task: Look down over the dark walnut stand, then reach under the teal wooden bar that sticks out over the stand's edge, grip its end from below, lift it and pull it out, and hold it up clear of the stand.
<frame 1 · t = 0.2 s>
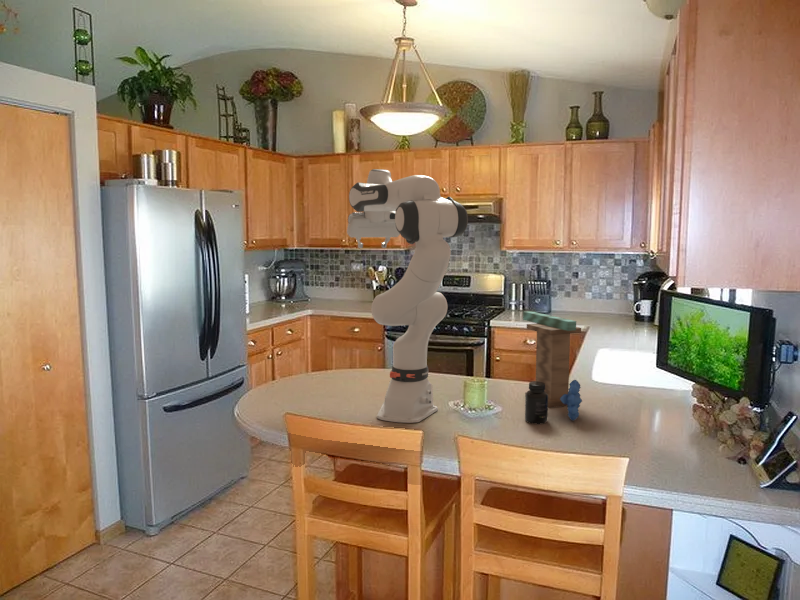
hand: (372, 247, 225), 52 cm above the worktop, tool tilted 20°, fingers open, 8 cm apart
grapes: (570, 418, 186), on the worktop
supplement bottle: (536, 421, 183), on the worktop
walnut stand: (551, 400, 205), on the worktop
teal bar: (548, 324, 204), point 26 cm above the worktop, touching walnut stand
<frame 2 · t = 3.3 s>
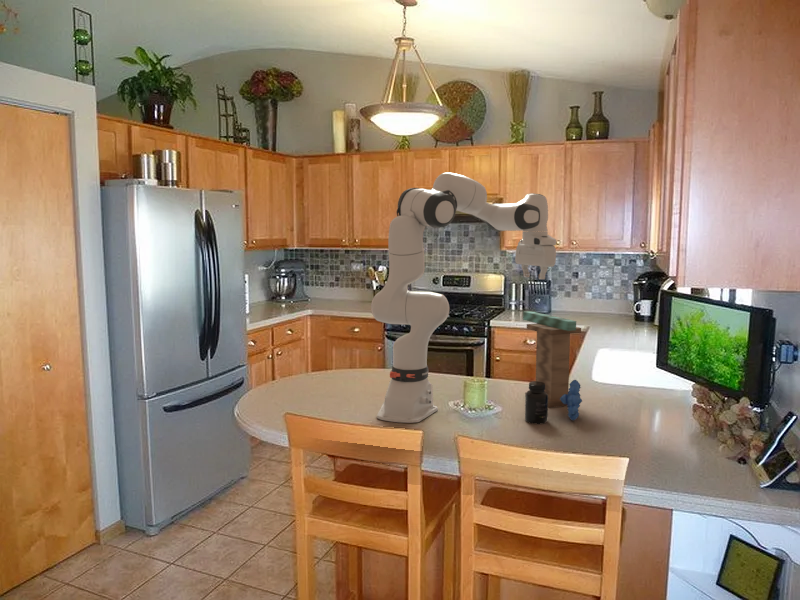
hand: (534, 278, 215), 41 cm above the worktop, tool pointing down, fingers open, 8 cm apart
nothing on the worktop moved.
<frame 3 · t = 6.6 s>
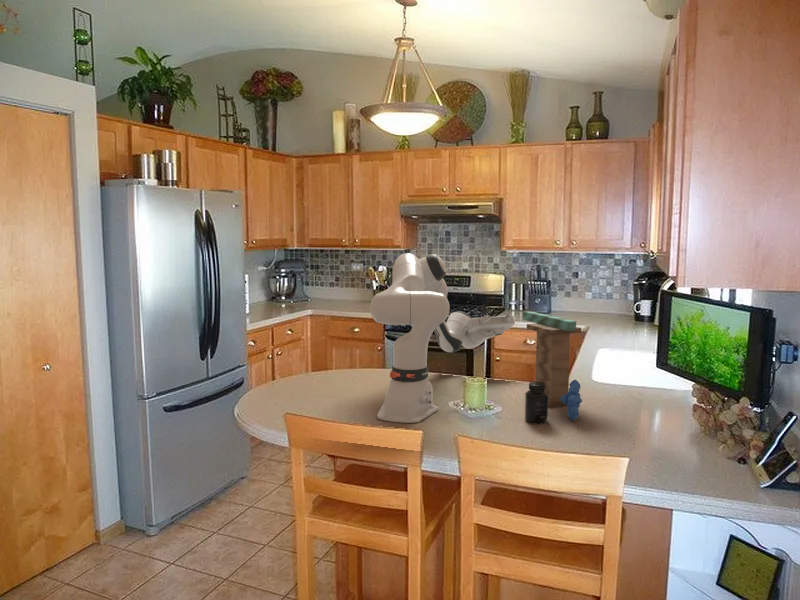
hand: (499, 316, 234), 25 cm above the worktop, tool pointing upward, fingers open, 8 cm apart
nothing on the worktop moved.
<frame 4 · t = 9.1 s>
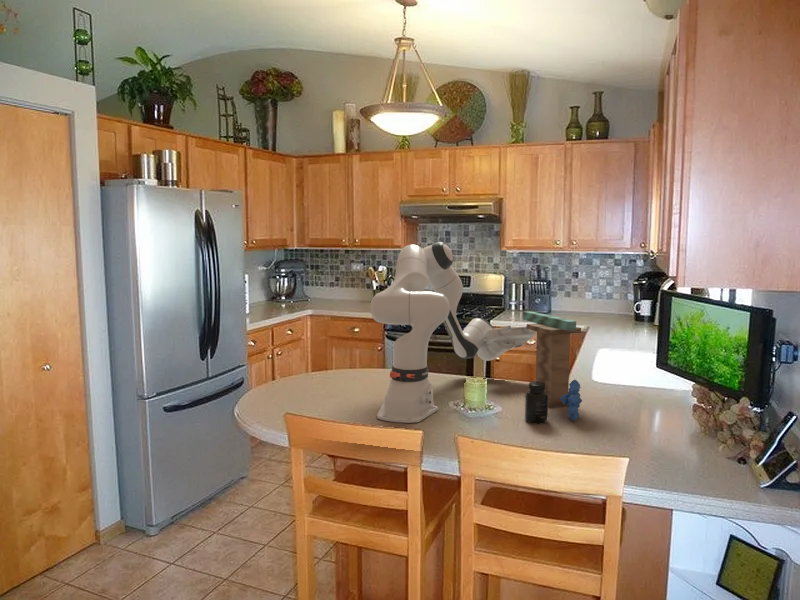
hand: (520, 326, 220), 23 cm above the worktop, tool pointing upward, fingers open, 8 cm apart
nothing on the worktop moved.
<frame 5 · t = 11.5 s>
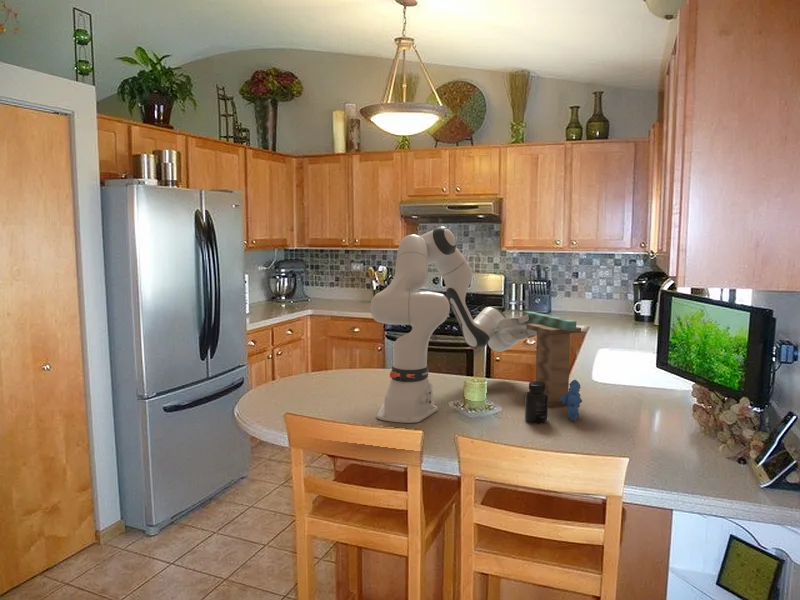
hand: (534, 315, 212), 28 cm above the worktop, tool pointing upward, fingers closed on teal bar, 3 cm apart
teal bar: (548, 324, 204), point 26 cm above the worktop, touching gripper, walnut stand
everything else where it was.
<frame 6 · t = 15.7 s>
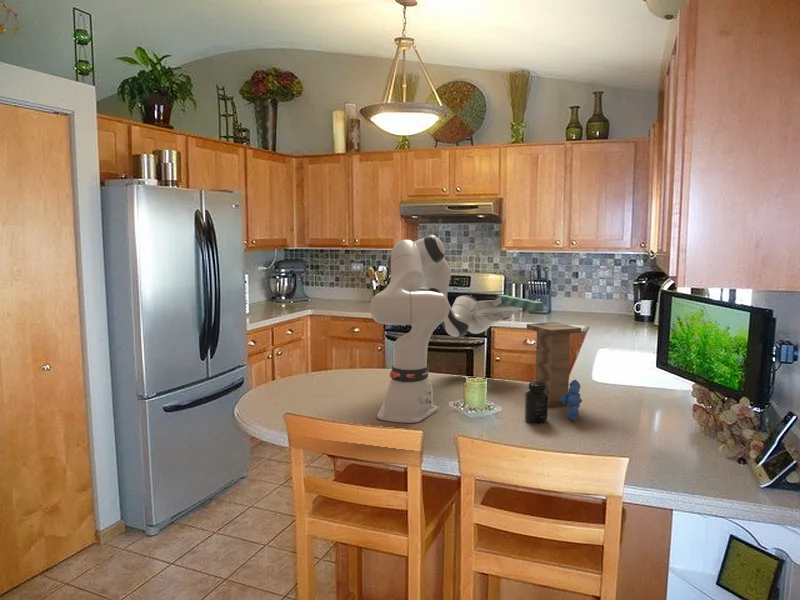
hand: (506, 298, 228), 32 cm above the worktop, tool pointing upward, fingers closed on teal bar, 3 cm apart
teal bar: (518, 306, 221), point 30 cm above the worktop, touching gripper
everything else where it was.
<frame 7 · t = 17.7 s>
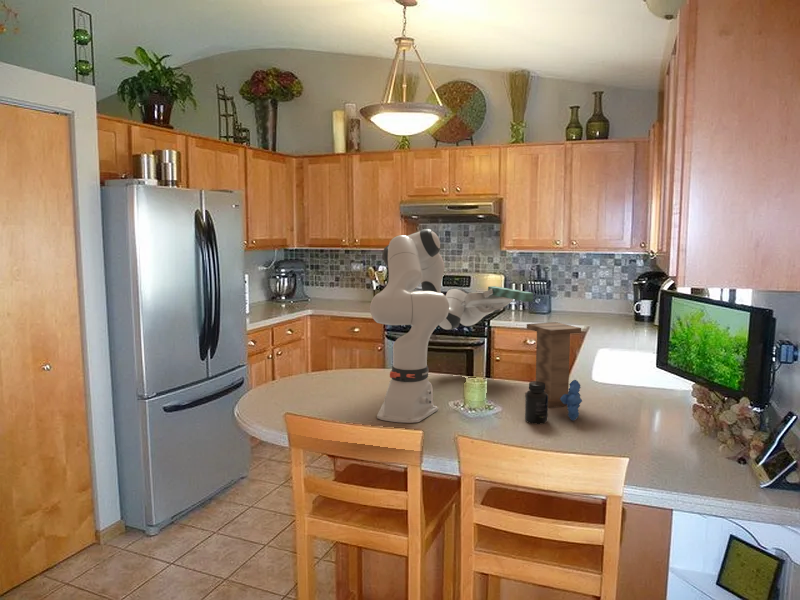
hand: (497, 290, 229), 35 cm above the worktop, tool pointing upward, fingers closed on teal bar, 3 cm apart
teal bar: (509, 297, 221), point 33 cm above the worktop, touching gripper
everything else where it was.
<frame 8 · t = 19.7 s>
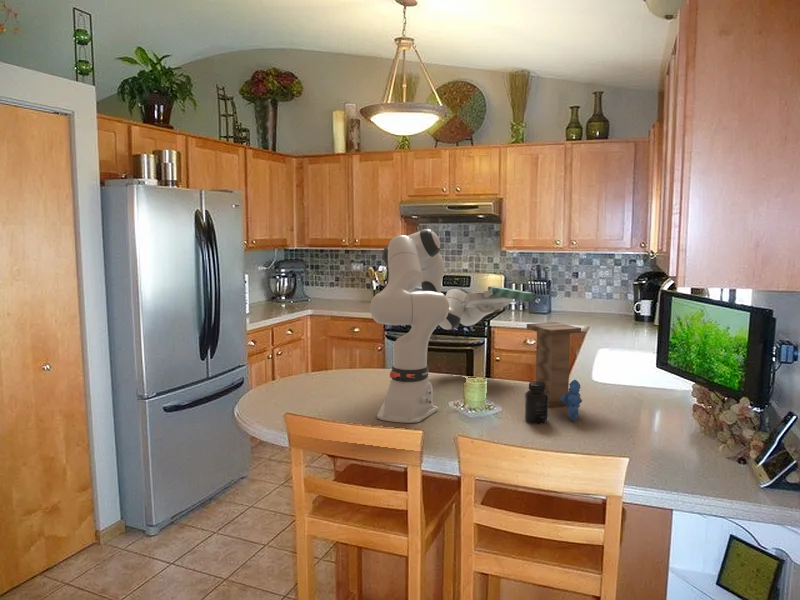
hand: (497, 290, 229), 35 cm above the worktop, tool pointing upward, fingers closed on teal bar, 3 cm apart
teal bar: (509, 297, 221), point 33 cm above the worktop, touching gripper
everything else where it was.
at the end: the gripper is holding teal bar; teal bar touching gripper; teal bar moved 21.9 cm from its start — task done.
